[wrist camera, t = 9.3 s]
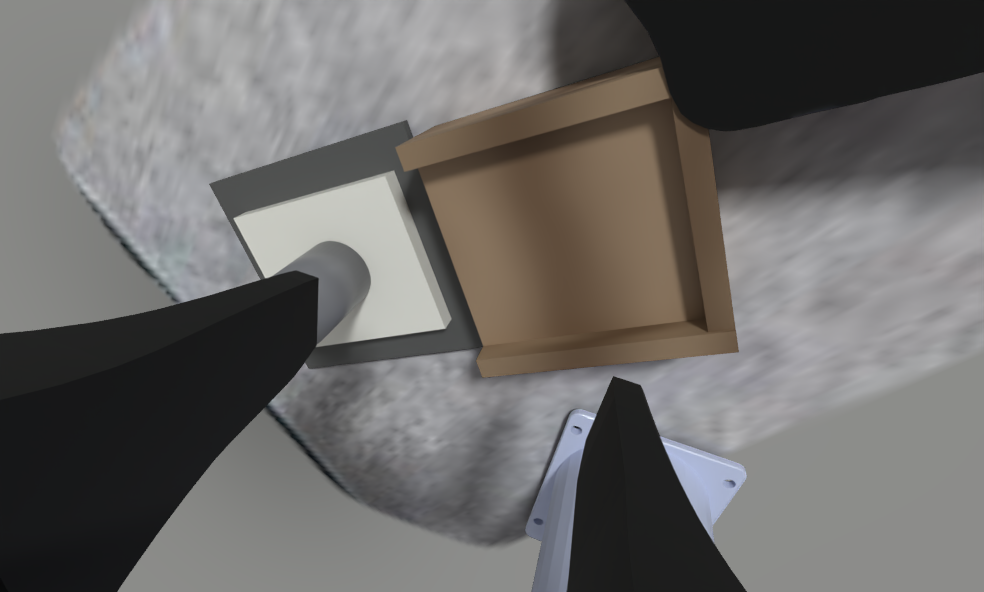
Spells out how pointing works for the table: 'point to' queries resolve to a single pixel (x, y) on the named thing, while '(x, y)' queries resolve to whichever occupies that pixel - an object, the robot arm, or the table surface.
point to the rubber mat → (344, 167)
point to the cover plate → (374, 240)
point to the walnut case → (582, 225)
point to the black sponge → (805, 53)
